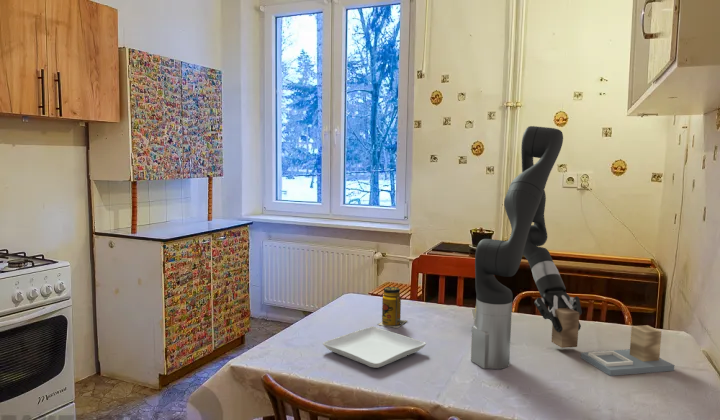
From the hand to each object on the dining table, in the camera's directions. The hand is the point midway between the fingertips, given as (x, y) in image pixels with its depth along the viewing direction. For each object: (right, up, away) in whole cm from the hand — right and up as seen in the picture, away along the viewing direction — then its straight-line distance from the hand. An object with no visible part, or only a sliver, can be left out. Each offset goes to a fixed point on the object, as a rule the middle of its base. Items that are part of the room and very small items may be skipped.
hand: (569, 330), depth 145 cm
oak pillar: (+18, -6, -7) cm, 20 cm away
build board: (+12, -7, -8) cm, 16 cm away
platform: (-21, -5, +21) cm, 30 cm away
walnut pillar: (-1, -4, +2) cm, 5 cm away
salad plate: (-55, -6, -2) cm, 56 cm away
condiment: (-49, -3, +24) cm, 54 cm away
